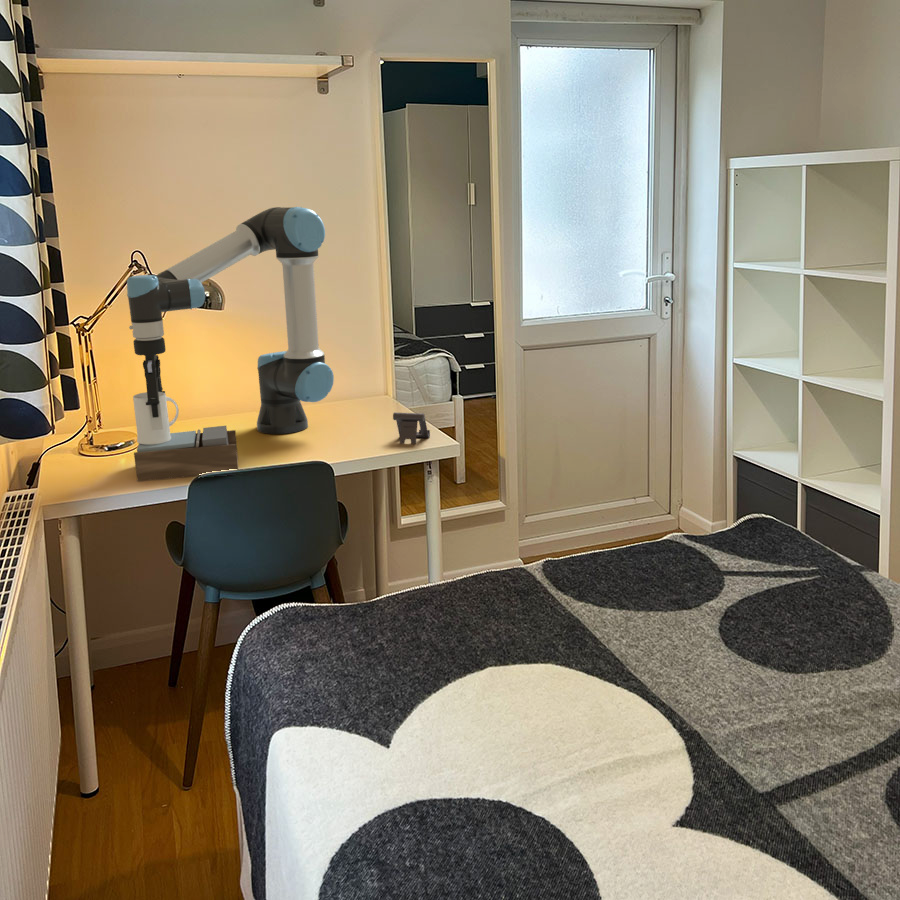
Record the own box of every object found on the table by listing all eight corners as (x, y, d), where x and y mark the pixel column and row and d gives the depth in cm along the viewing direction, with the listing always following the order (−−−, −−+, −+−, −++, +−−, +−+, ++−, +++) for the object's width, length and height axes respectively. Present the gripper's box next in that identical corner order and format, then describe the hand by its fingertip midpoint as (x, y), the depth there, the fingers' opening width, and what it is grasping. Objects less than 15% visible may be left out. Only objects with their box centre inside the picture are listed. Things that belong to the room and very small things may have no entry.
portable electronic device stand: (430, 437, 282) (429, 408, 280) (423, 444, 275) (421, 415, 272) (401, 436, 284) (400, 407, 282) (392, 443, 277) (391, 414, 275)
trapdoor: (229, 446, 266) (226, 425, 264) (228, 459, 254) (226, 437, 252) (144, 456, 262) (141, 434, 260) (140, 470, 250) (136, 447, 248)
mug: (175, 431, 263) (170, 387, 259) (188, 438, 256) (184, 393, 253) (132, 440, 256) (126, 395, 252) (144, 447, 249) (139, 400, 246)
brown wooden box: (142, 464, 264) (138, 434, 261) (237, 456, 268) (235, 426, 266) (137, 481, 249) (133, 449, 247) (238, 472, 254) (235, 441, 251)
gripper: (137, 332, 257) (146, 416, 264) (128, 345, 237) (139, 436, 243) (166, 330, 259) (175, 414, 265) (161, 343, 238) (171, 433, 245)
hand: (158, 424), depth 254 cm, fingers open, 9 cm apart
